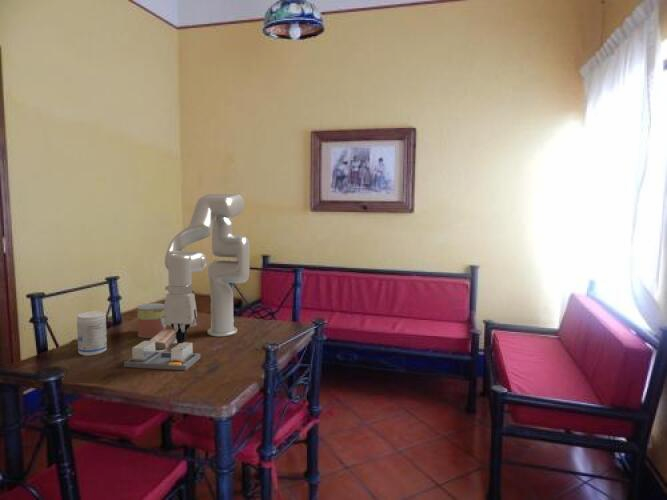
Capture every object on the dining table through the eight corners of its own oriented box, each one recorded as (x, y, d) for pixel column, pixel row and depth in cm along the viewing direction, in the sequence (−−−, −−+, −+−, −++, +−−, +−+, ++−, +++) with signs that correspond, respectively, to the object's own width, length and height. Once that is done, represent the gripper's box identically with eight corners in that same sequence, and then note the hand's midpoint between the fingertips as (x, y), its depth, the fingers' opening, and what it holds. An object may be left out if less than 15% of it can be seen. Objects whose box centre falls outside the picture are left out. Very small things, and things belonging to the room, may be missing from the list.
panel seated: (145, 356, 162) (144, 340, 161) (155, 357, 161) (155, 341, 161) (132, 364, 154) (132, 347, 153) (143, 365, 154) (143, 348, 153)
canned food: (162, 337, 187) (162, 309, 186) (134, 338, 186) (133, 309, 184) (168, 329, 198) (168, 302, 197) (142, 330, 197) (141, 303, 195)
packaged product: (156, 328, 185) (180, 328, 185) (156, 339, 185) (181, 340, 186) (139, 342, 167) (166, 342, 167) (140, 355, 167) (167, 354, 168)
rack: (142, 356, 164) (142, 349, 164) (200, 359, 162) (200, 352, 161) (123, 369, 152) (123, 360, 152) (185, 372, 150) (185, 364, 149)
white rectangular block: (182, 358, 160) (181, 342, 160) (192, 359, 160) (192, 342, 159) (171, 366, 153) (170, 349, 152) (182, 367, 152) (182, 350, 151)
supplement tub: (74, 352, 168) (72, 314, 166) (100, 346, 175) (98, 309, 174) (85, 358, 162) (83, 318, 160) (111, 351, 169) (110, 313, 167)
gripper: (154, 291, 150) (155, 344, 152) (196, 292, 149) (197, 346, 151) (164, 287, 158) (166, 338, 160) (205, 288, 156) (206, 340, 158)
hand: (181, 342), depth 155 cm, fingers closed
